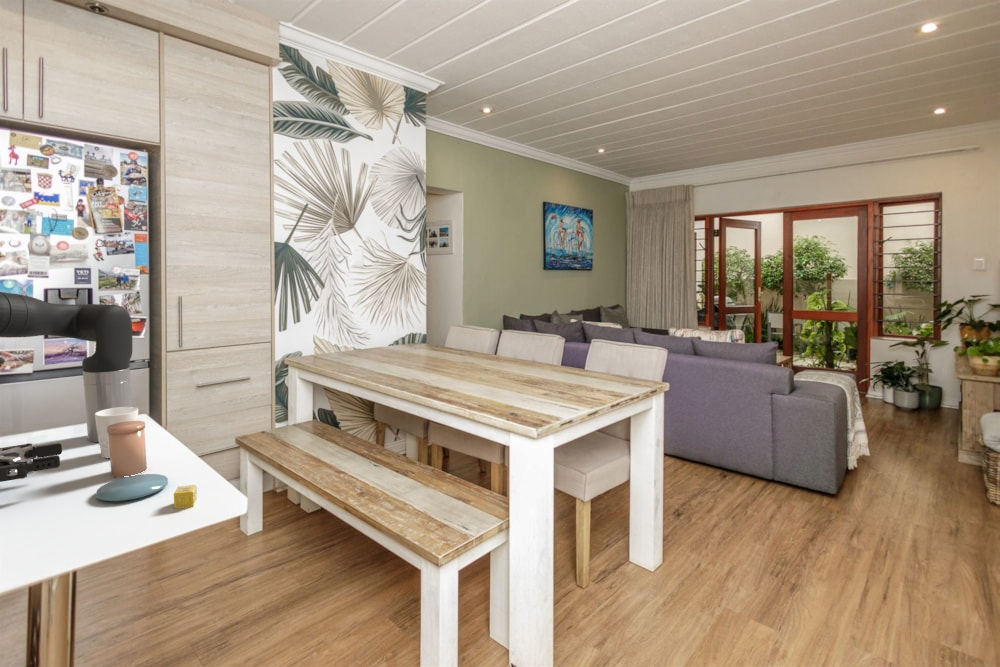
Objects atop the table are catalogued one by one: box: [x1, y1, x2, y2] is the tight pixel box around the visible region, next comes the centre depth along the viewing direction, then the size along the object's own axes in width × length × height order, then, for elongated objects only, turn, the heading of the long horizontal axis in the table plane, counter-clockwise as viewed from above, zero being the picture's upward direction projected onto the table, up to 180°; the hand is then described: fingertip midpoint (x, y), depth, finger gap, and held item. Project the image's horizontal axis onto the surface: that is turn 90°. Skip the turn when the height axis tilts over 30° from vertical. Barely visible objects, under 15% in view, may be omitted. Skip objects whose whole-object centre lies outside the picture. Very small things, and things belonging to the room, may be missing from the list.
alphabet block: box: [173, 484, 198, 510], centre depth 91 cm, size 3×3×3 cm
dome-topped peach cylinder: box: [107, 420, 148, 478], centre depth 105 cm, size 6×6×10 cm
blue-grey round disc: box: [95, 473, 169, 502], centre depth 96 cm, size 11×11×1 cm
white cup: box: [95, 406, 139, 459], centre depth 115 cm, size 8×8×10 cm
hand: (60, 454), depth 98 cm, fingers open, 8 cm apart
